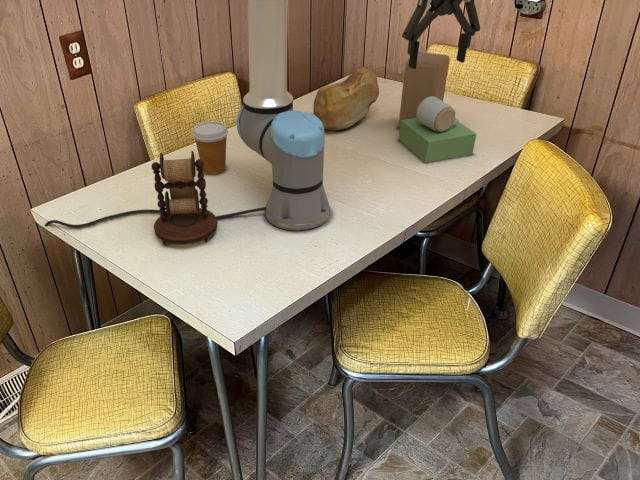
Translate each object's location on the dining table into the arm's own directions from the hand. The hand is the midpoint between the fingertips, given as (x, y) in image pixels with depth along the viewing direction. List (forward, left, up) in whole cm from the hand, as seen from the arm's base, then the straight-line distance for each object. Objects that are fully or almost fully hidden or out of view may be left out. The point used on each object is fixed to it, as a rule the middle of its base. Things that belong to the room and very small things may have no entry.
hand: (436, 64), depth 152 cm
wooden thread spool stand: (-73, -22, -23) cm, 79 cm away
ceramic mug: (+2, -1, -17) cm, 17 cm away
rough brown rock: (-15, +28, -23) cm, 39 cm away
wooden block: (+5, +14, -23) cm, 27 cm away
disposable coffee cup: (-60, +8, -23) cm, 64 cm away
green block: (+2, -1, -23) cm, 23 cm away
